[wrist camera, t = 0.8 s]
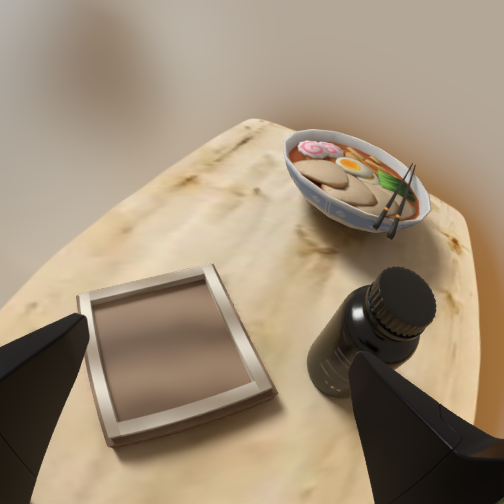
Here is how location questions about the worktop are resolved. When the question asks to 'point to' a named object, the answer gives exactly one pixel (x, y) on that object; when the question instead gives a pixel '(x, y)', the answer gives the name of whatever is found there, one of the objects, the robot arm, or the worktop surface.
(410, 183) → the ramen bowl
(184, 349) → the beige square tray
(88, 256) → the worktop surface
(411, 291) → the supplement bottle
